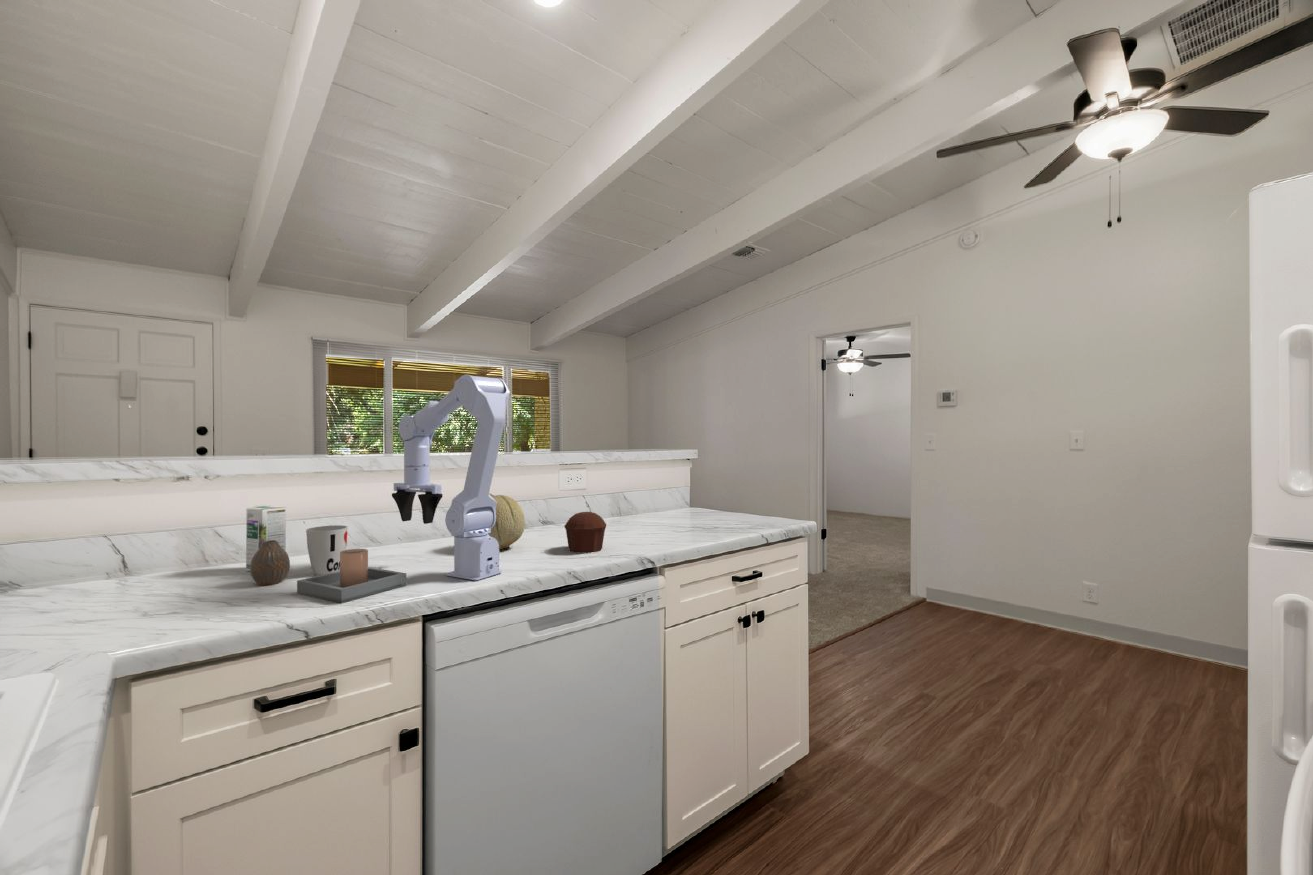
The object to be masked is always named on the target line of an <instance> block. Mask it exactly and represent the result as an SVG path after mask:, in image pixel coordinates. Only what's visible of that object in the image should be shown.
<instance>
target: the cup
mask: <svg viewBox="0 0 1313 875" xmlns="http://www.w3.org/2000/svg"><path fill="white" fill-rule="evenodd" d="M348 528H349V526H346V525H341V524H340V525H338V524H337V525H322V526H316V527H315V526H314V527H310V528H306V529H305V532H306V533H305V534H306V535H305V536H306V545H307V552H308V557H309V562H310V563H309V564H310V565H311V568H312V571H313V573H314V575H316V576H320V575H324V574H329V573H333V572H337V571H340V552H341V551H344V550H347V544H348Z"/></svg>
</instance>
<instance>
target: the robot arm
mask: <svg viewBox="0 0 1313 875" xmlns="http://www.w3.org/2000/svg"><path fill="white" fill-rule="evenodd" d="M453 386H454V387H453V388H452V389H451V390H450V391H449V392H448V393H447V394H446V395H444V397H442V398H441V399H440V400H439V401H437V400H436V401H434V400H429V401H428V402H427V403H426V405H425V406H424V407H423V408H421V409H420V410H418V411H416V412H415V414H413V415H403V417H402V418H400V420H399V422H398V433H399V436H400V438H401V439H402V440H403V479H404V480H403V482H393V491H394V492H393V493H391V497H392V499H393V500H394V502H395V504H396V506H397V507H398V511H399V514H400V519H401V521H402V522H407V521H409V522H410V521H412V516H413V505H414V501H415V500H414V499H415V496H416V494H417V493H420V494H417V497H418V500H419V502H420V503H419V504H420V506H421V511H422V512H421V513H422V515H421V516H422V523H423V524H424V525H426V524H432V523H434V522H433V520H434V518H435V513H436V511H437V508H438V506H439V504H440V501H441V500H442V498H443V493H442V485H441V484H435V483H431V482H430V479H431V478H430V477H431V476H430V475H431V474H430V471H431V469H430V468H431V466H430V464H431V463H430V461H431V460H430V456H431V455H430V448H431V447H432V445H433V437H434V436H435V433H436V430H438V429H439V428H440V427H441V426H443V425H444V424H446V423H447V422H448V421H449V418H450V414H452V413H453V412H455V411H457V410H458V409H459V408H461V407H464V409H465V410H466V411H467V412H468V413H469V415H470V416H472V417H473V418H475V420H476V421H477V426H476V430H475V434H474V439H473V442H472V443H473V444H472V448H471V451H470V452H471V454H470V459H469V462H468V467H467V472H466V477H465V479H464V480H465V481H464V486H463V489H462V491H460V493H458V494H457V495H456V496H455V497H453V499H452V500H451V504H450V507H449V508H448V509H447V511H446V513H445V520H444V521H445V526H446V529H447V530H448V532H449V533H450V535H451V537H453V540H454V541H453V544H454V545H453V547H454V548H453V552H454V553H453V554H454V555H453V557H454V558H453V561H454V562H453V563H454V565H453V566H454V567H453V569H454V570H453V571H449V572H445V576H447V577H453V578H458V579H463V580H464V579H465V580H470V581H471V580H472V581H479V580H483V579H486V578H489V577H492V576H495V575H499V574H501V573H502V572H503V571H502V570H500V549H499V544H498V541H497V540H496V539H495V538H493V537H490V536H489V534H488V533H491V528H493V526H494V525H495V522H496V504H497V502H496V501H495V500H494V498H493V497H492V496H491V495H489V493H490V490H491V486H492V482H493V481H492V480H493V476H494V472H495V468H496V467H495V466H496V464H497V459H498V453H499V451H500V446H501V442H502V441H501V440H502V437H503V433H504V428H505V424H506V423H505V422H506V411H507V407H508V403H509V397H510V394H511V392H510V389H509V388H508V386H507V384H506V381H504V379H503V378H501V377H489V376H488V377H486V376H476V375H475V376H474V375H470V374H463V375H461V376H460V377H459V378H458V379H456V380H455V381H454V385H453Z"/></svg>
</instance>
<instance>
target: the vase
mask: <svg viewBox="0 0 1313 875" xmlns="http://www.w3.org/2000/svg"><path fill="white" fill-rule="evenodd" d="M290 566H291V560H290V557H289V554H288V552H286V551H285V550H284V549H283V548H282V547H281V546H280V545H279V544H278V542H277V541H276V540H270V541H264V542H263V544H262V546H261V547H260V549H259V550H258V551H257V552H256V553H255V555H254V556H253V558H252V561H251V565H250V571H249V572H250V576H251V578H252V580H254V582H255V583H256V584H258V585H259V586H270V585H277V584H281V583H282V582H283V581H284V580H285V579H286V578H287V576H288V574H289V572H290V568H291V567H290Z"/></svg>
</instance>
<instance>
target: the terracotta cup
mask: <svg viewBox="0 0 1313 875" xmlns="http://www.w3.org/2000/svg"><path fill="white" fill-rule="evenodd" d="M368 567H369V549H367V548H349V549H346V550H344V551H341V552H340V587H341V588H345V587H349V586H353V585H357V584H361V583H365V582H368Z"/></svg>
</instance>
